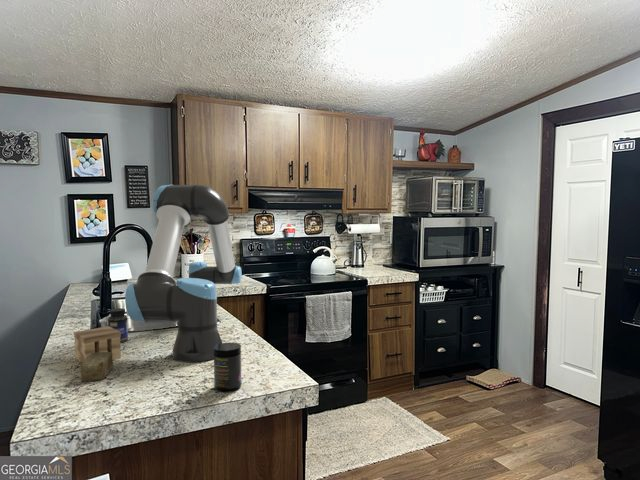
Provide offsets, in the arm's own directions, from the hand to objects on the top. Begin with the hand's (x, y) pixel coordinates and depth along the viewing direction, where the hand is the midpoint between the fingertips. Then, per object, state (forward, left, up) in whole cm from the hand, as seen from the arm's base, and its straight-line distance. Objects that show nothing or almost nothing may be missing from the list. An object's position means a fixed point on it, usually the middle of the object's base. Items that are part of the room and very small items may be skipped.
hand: (140, 314), depth 158 cm
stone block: (-32, +25, -8) cm, 41 cm away
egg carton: (+22, +2, -8) cm, 23 cm away
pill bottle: (-3, +9, -8) cm, 12 cm away
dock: (-17, +20, -7) cm, 28 cm away
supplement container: (-65, +5, -8) cm, 66 cm away
